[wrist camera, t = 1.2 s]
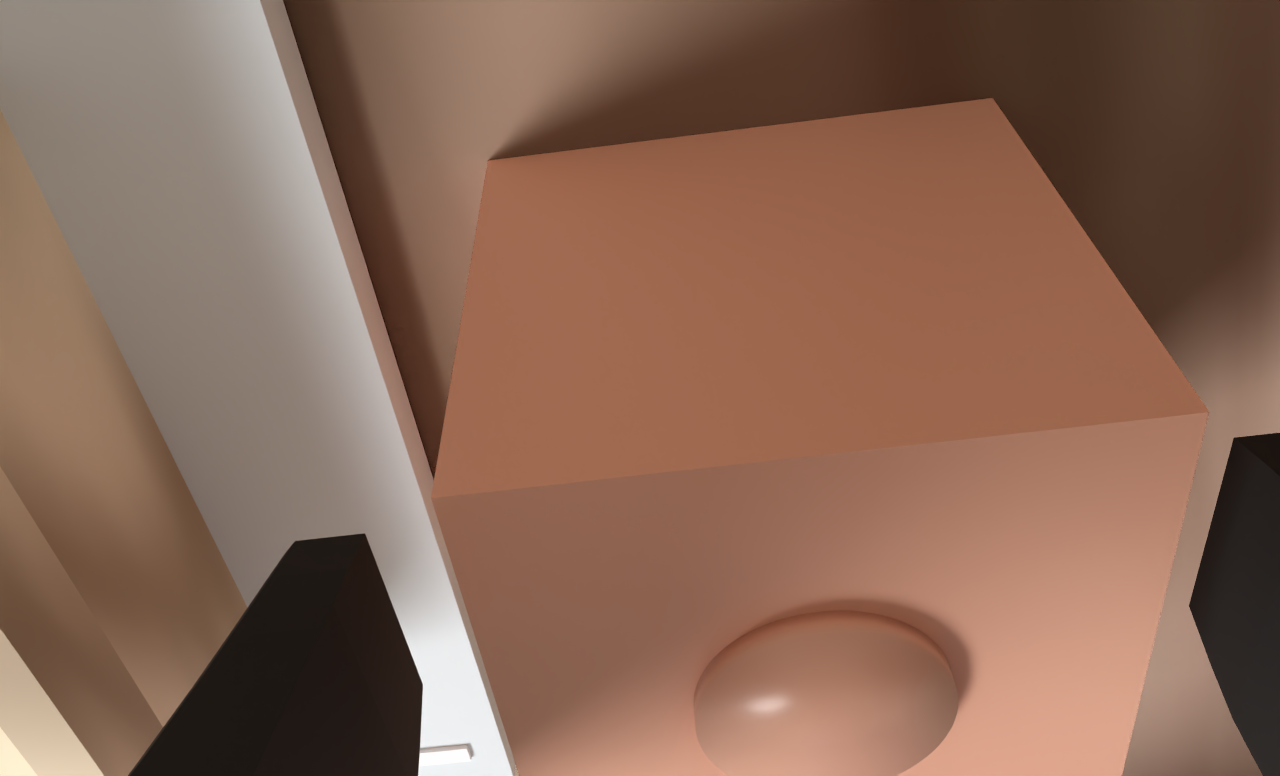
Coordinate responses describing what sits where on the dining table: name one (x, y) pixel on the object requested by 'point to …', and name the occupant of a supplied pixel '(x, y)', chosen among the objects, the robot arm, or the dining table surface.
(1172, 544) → the terracotta block
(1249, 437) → the robot arm
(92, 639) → the birch tray
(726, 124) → the dining table surface
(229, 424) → the white board
